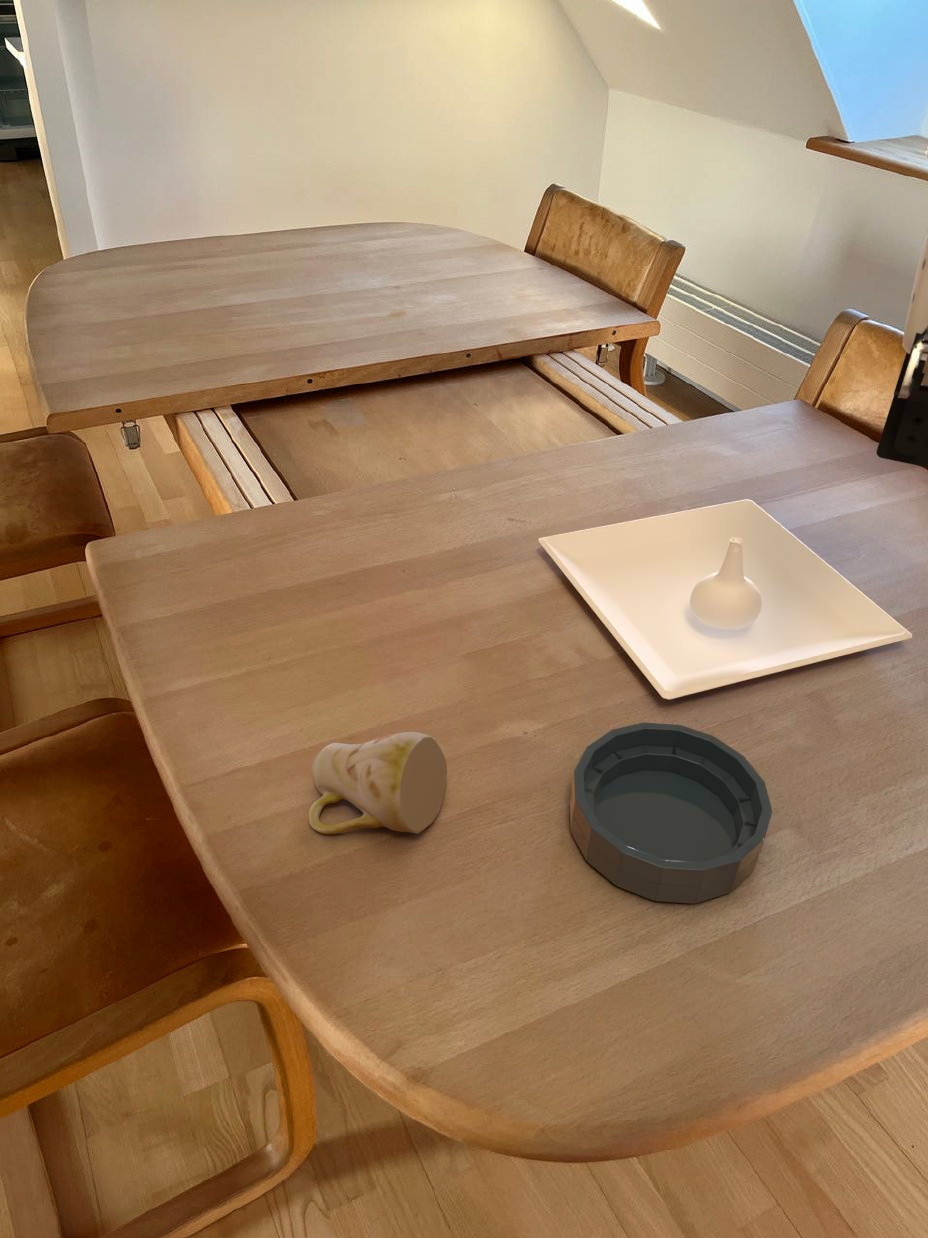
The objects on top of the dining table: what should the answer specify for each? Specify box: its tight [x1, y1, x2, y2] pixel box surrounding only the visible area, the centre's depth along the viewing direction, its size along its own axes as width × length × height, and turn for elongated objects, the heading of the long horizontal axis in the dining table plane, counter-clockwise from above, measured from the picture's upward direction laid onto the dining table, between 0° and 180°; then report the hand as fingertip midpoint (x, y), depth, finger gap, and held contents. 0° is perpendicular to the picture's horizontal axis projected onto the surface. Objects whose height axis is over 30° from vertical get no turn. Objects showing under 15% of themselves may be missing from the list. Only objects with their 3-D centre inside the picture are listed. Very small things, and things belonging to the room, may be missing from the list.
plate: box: [537, 498, 913, 701], centre depth 92 cm, size 26×26×2 cm
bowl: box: [569, 721, 773, 904], centre depth 68 cm, size 14×14×4 cm
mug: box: [308, 731, 448, 835], centre depth 68 cm, size 8×10×10 cm
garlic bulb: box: [690, 537, 762, 629], centre depth 84 cm, size 6×6×8 cm
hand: (910, 429), depth 60 cm, fingers open, 9 cm apart
